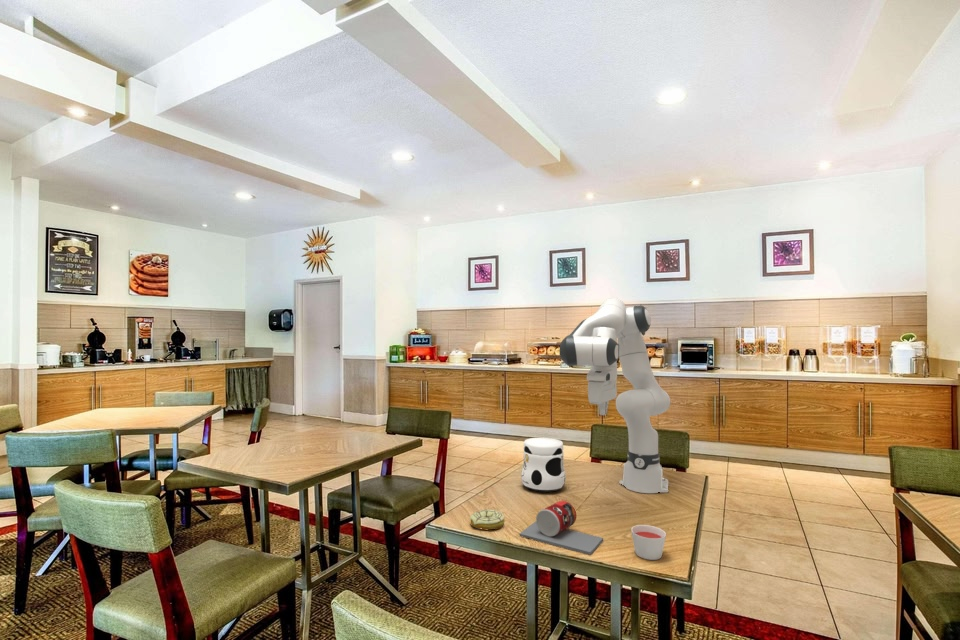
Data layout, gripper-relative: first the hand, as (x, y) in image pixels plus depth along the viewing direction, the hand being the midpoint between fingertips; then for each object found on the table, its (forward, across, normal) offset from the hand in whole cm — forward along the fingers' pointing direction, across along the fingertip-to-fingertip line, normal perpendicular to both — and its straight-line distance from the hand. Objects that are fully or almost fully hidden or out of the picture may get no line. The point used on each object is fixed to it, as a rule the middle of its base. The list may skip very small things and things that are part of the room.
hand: (603, 414), depth 164 cm
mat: (+33, +27, -4) cm, 43 cm away
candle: (+33, +24, +21) cm, 46 cm away
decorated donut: (+34, +31, -27) cm, 53 cm away
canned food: (+29, +19, -5) cm, 35 cm away
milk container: (+34, -12, -27) cm, 45 cm away
